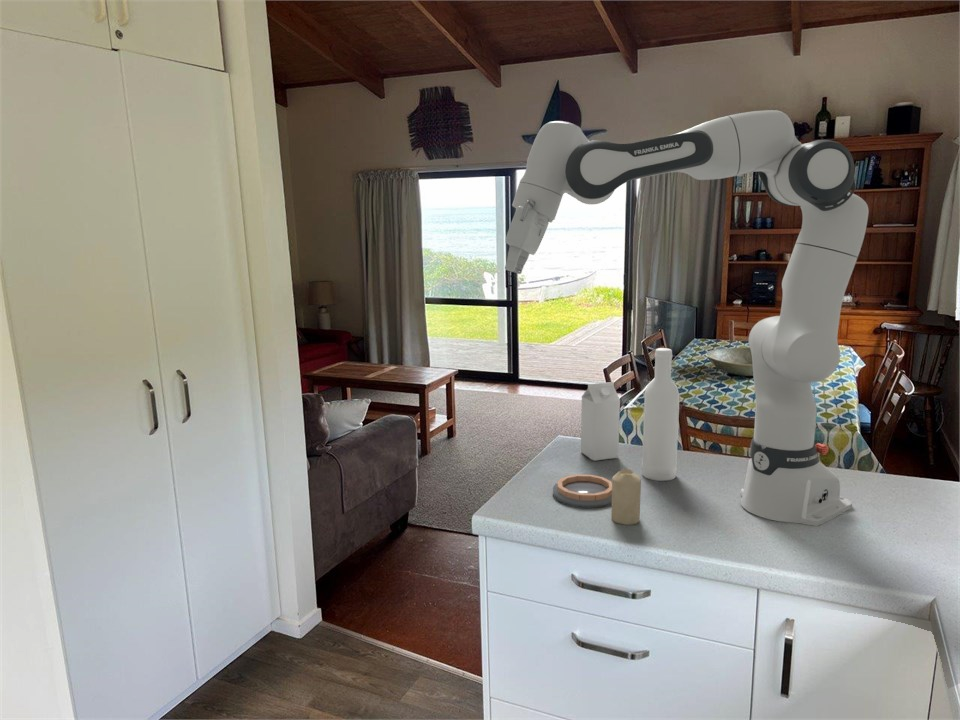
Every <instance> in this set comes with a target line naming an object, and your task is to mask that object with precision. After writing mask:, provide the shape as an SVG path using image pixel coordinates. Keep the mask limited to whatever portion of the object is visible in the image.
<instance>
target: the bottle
mask: <svg viewBox="0 0 960 720" xmlns="http://www.w3.org/2000/svg"><path fill="white" fill-rule="evenodd" d="M672 359H673V350H672V349H671V348H667V347H666V348H665V347H659V348H656V349H655V353H654V362H655V363H654V378H653V380H651V381H650V382H649V383H648V384H647V386H646V388H645V391H644V399H643V400H644V405H643V407H644V408H643V432H642V433H643V434H642V435H643V436H642V459H641V475H642V476H643V477H644V478H646V479H648V480H652V481H658V482H667V481H668V482H669V481H672V480H674V479H675V478H676V477H677V469H678V464H677V461H678V460H677V459H678V458H677V457H678V441H679V440H678V439H679V438H678V437H679V435H678V434H679V417H680V416H679V415H680V392H679V389H678V386H677V384H676V383H675V382H674V381H673V380H672V364H673V361H672Z"/></svg>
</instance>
